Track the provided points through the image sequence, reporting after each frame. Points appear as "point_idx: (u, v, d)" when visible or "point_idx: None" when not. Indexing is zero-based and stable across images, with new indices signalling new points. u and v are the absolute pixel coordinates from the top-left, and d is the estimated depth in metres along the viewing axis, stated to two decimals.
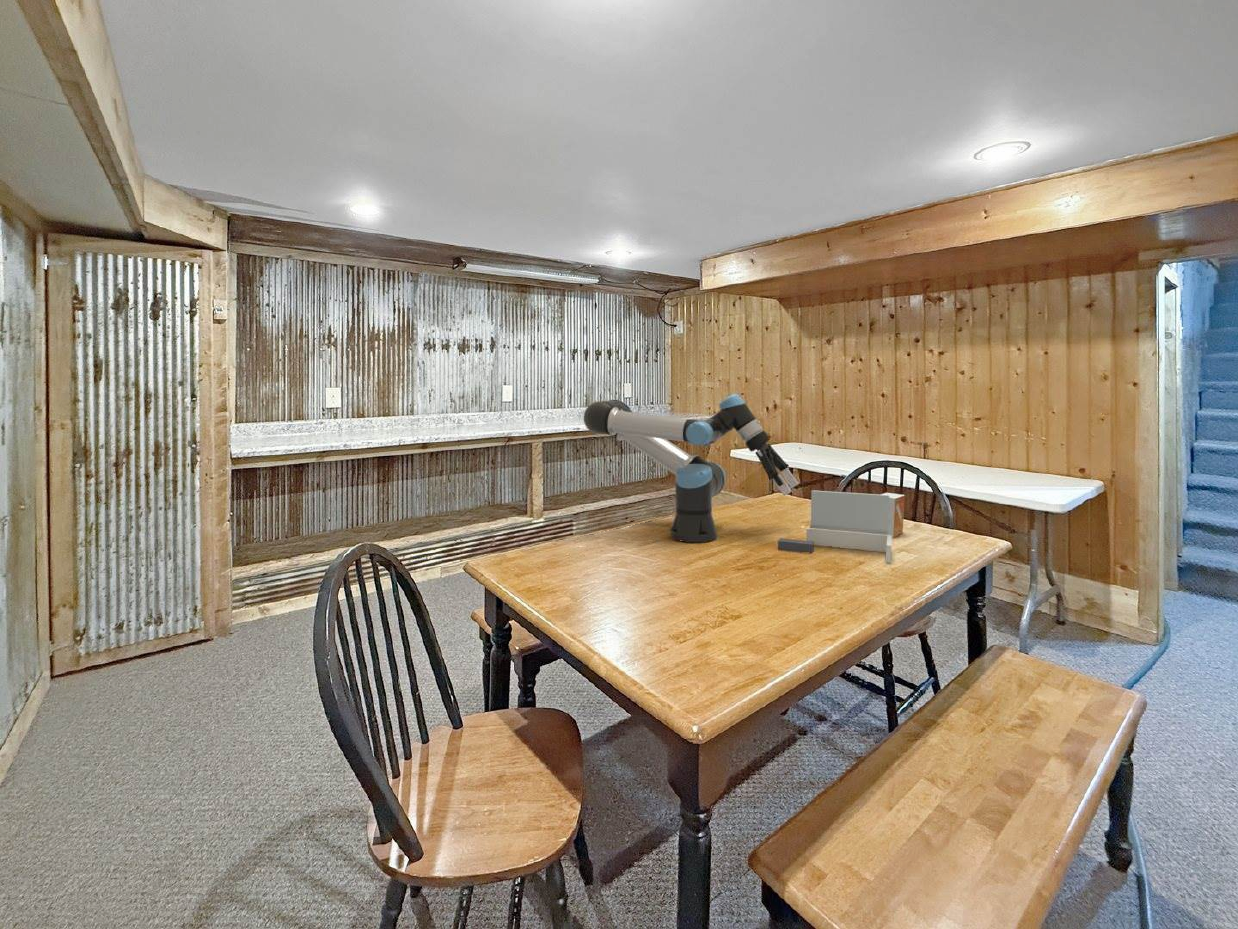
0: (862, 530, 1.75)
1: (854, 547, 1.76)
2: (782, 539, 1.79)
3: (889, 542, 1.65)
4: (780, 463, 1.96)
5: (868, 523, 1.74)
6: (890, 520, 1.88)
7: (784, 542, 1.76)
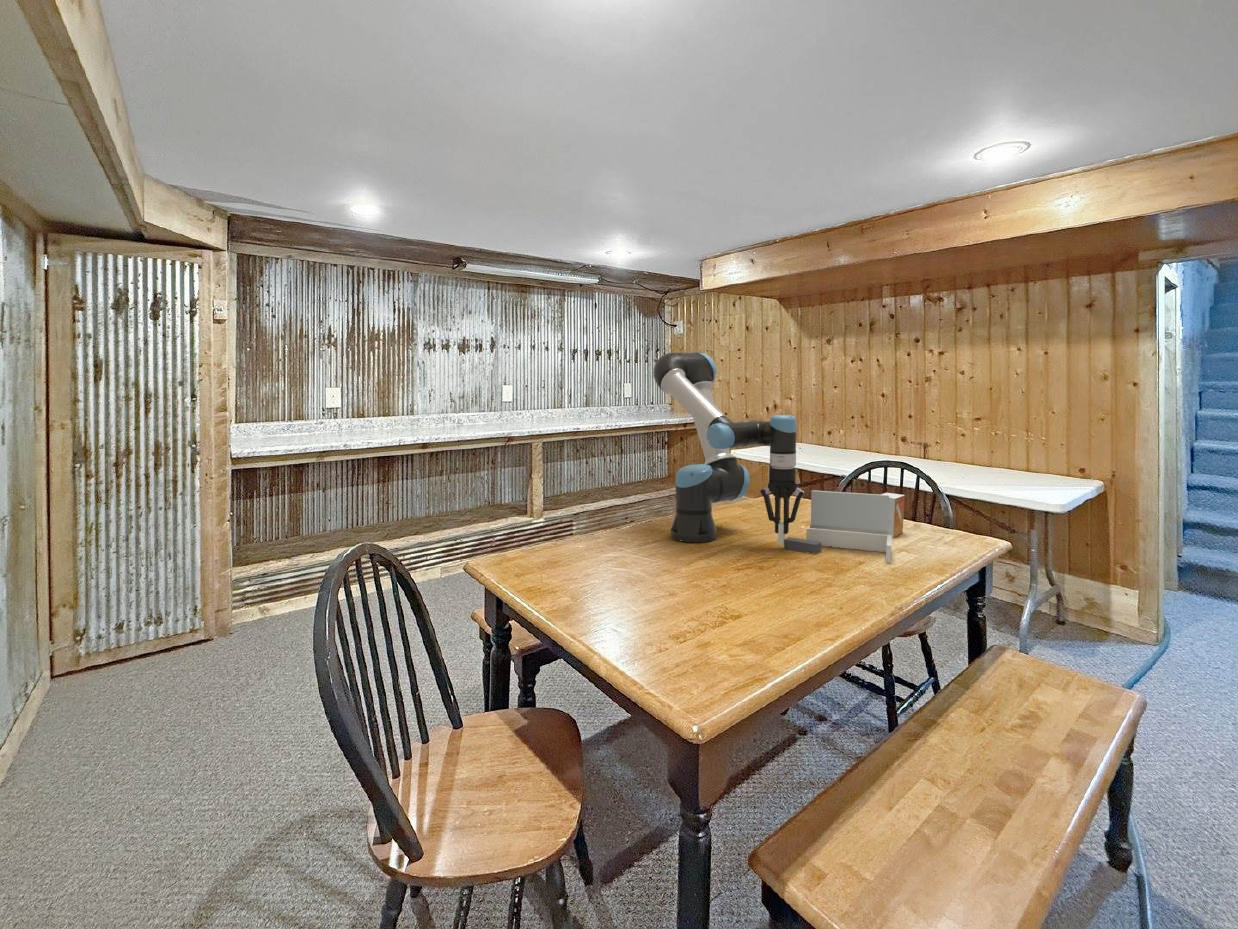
0: (862, 530, 1.75)
1: (854, 547, 1.76)
2: (789, 538, 1.79)
3: (889, 542, 1.65)
4: None
5: (868, 523, 1.74)
6: (890, 520, 1.88)
7: (790, 541, 1.77)
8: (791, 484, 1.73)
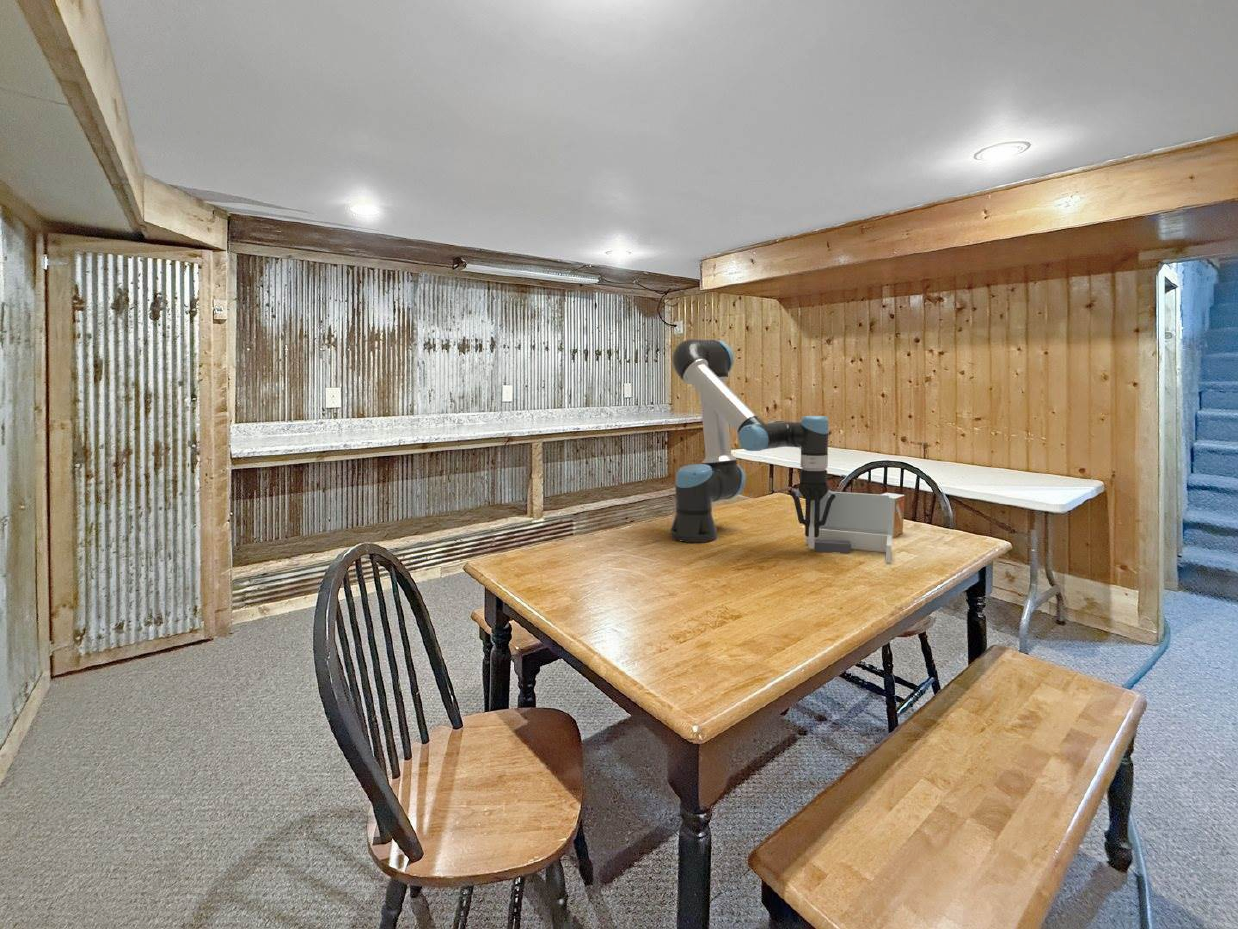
0: (862, 530, 1.75)
1: (854, 547, 1.76)
2: (818, 540, 1.76)
3: (889, 542, 1.65)
4: None
5: (868, 523, 1.74)
6: (890, 520, 1.88)
7: (821, 543, 1.74)
8: (823, 486, 1.70)
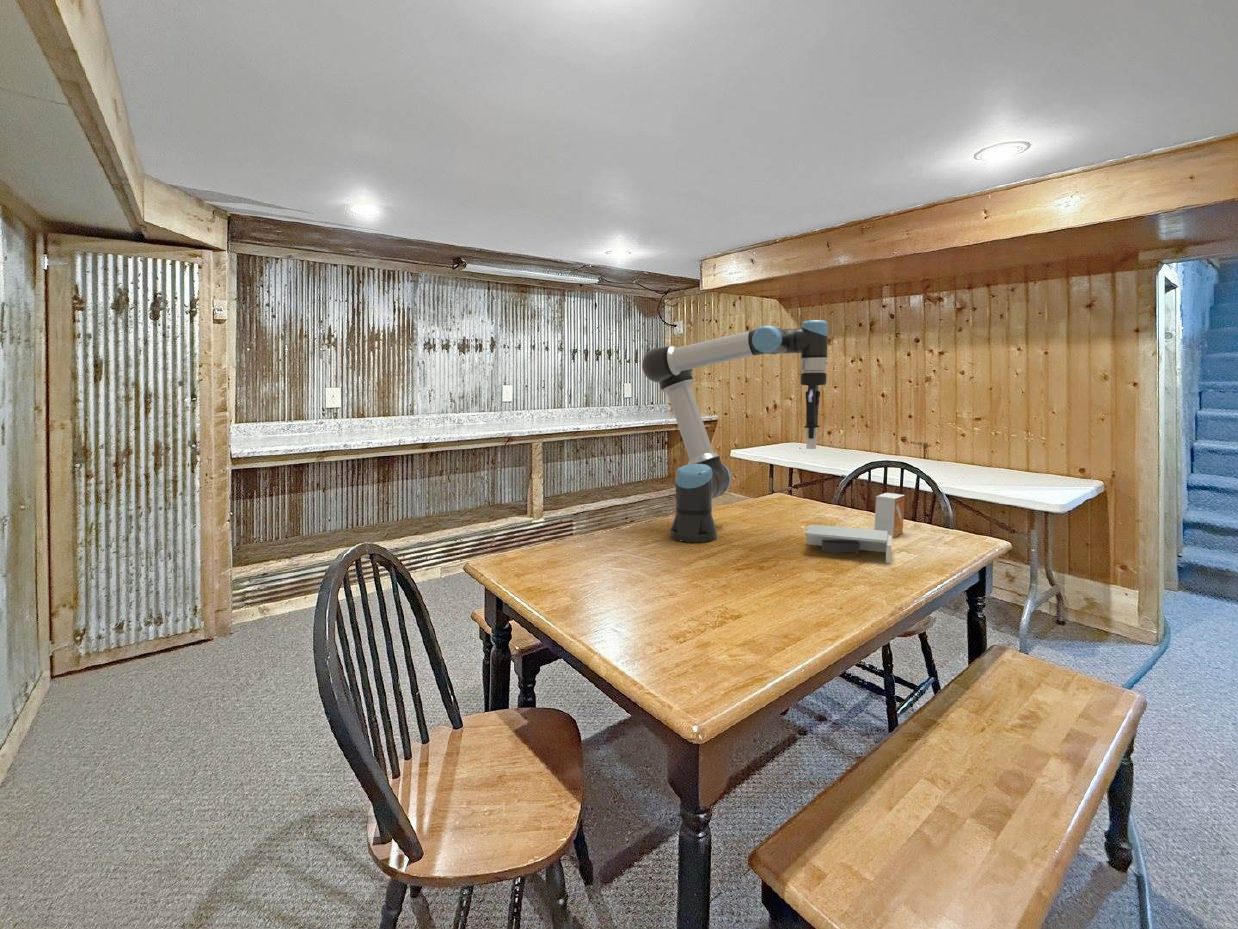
0: None
1: None
2: (826, 541, 1.76)
3: (889, 542, 1.65)
4: None
5: None
6: (890, 520, 1.88)
7: (831, 544, 1.74)
8: None
